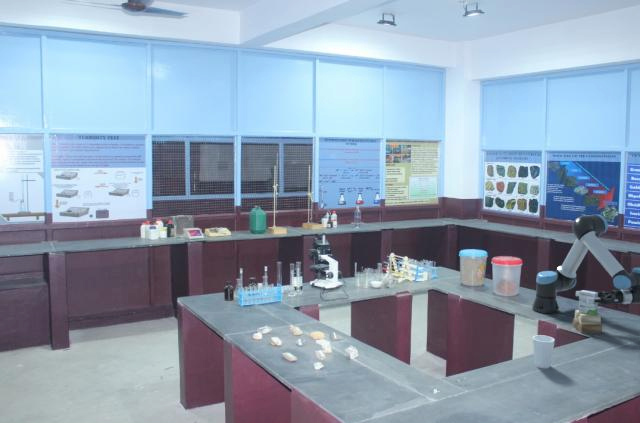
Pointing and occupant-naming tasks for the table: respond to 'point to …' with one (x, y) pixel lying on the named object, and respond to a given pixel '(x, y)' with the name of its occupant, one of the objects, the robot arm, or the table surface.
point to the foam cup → (543, 350)
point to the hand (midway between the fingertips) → (581, 297)
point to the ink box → (587, 307)
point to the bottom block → (587, 327)
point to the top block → (587, 318)
